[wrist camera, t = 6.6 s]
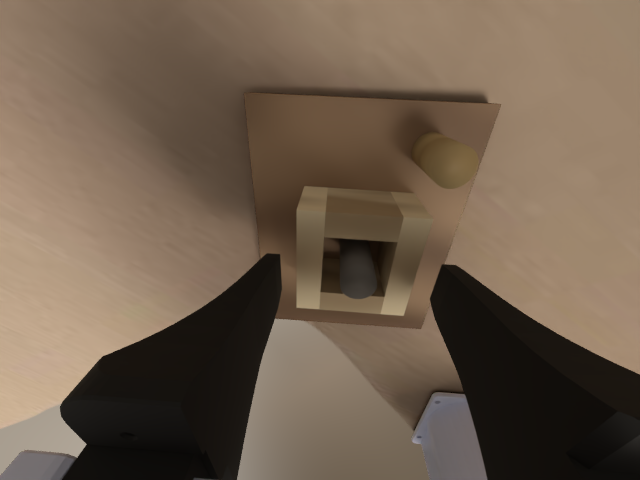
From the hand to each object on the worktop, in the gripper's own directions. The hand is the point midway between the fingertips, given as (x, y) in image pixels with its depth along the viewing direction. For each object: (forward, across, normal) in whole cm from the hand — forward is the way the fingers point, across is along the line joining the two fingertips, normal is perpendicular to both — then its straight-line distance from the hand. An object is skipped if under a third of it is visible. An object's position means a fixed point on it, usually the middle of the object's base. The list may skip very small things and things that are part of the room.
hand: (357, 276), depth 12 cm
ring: (+3, 0, 0) cm, 3 cm away
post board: (+4, 0, 0) cm, 4 cm away
